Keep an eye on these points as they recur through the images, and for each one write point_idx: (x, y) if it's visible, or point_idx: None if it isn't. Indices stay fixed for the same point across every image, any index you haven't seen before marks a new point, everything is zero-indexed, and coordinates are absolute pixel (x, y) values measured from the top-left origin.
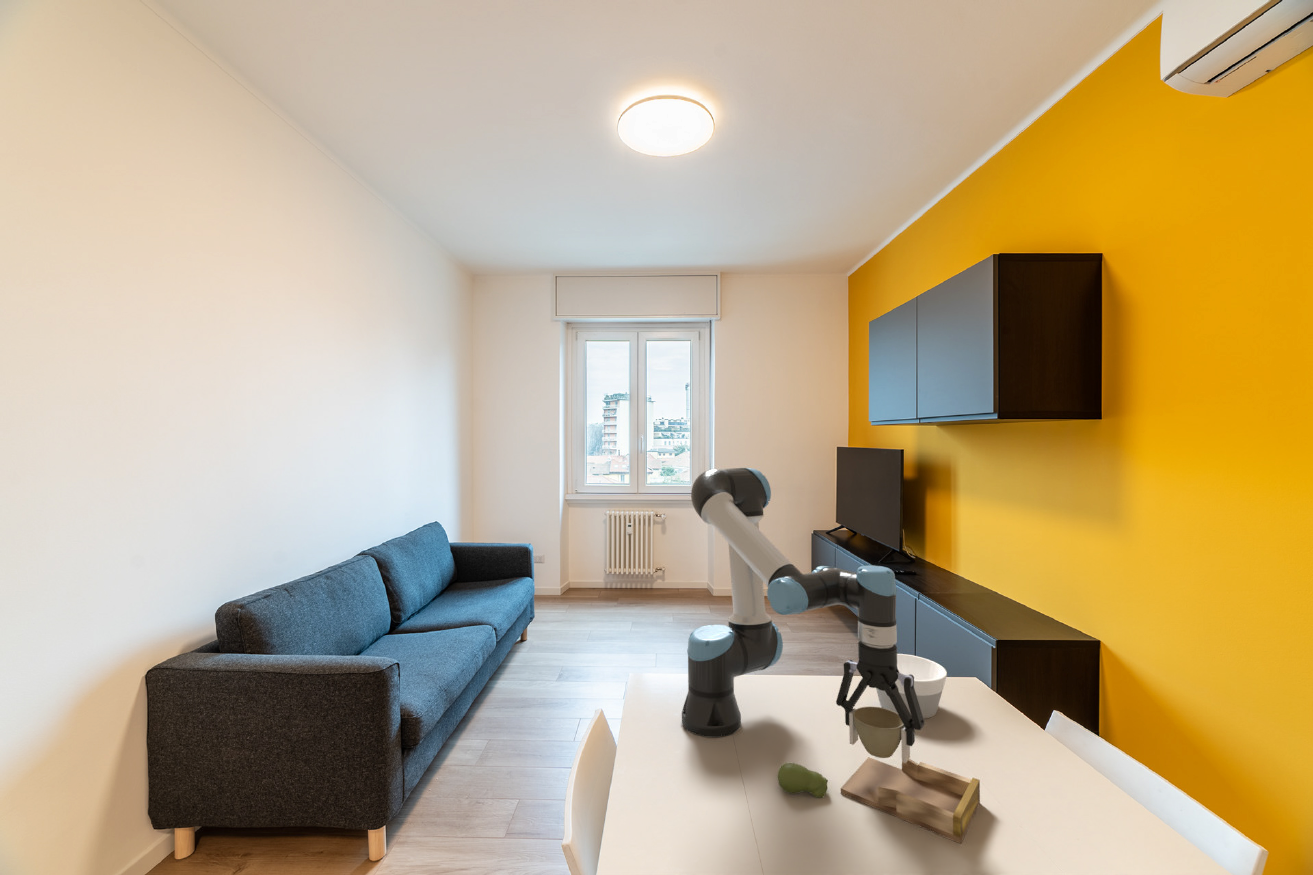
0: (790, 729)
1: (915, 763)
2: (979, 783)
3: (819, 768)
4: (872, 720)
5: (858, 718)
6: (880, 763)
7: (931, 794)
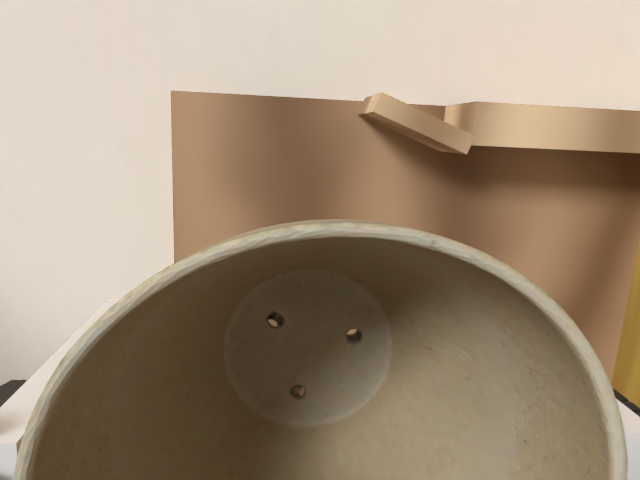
0: None
1: (454, 138)
2: None
3: (12, 312)
4: (199, 275)
5: (91, 434)
6: (247, 114)
7: (509, 229)
